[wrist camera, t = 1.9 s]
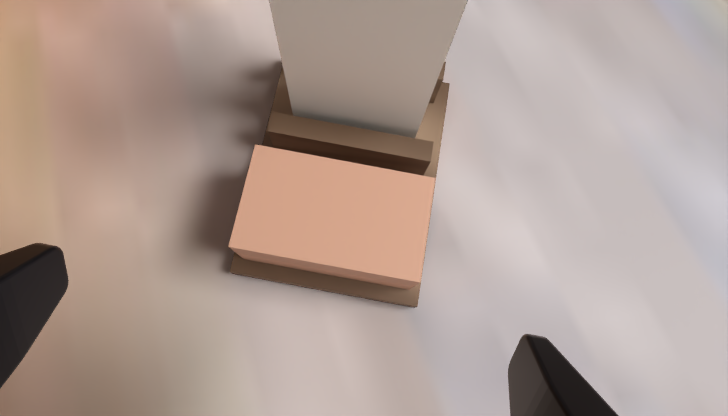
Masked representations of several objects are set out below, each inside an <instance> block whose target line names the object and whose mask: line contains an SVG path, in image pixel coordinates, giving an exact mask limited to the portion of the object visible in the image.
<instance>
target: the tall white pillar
mask: <svg viewBox="0 0 728 416" xmlns="http://www.w3.org/2000/svg"><path fill="white" fill-rule="evenodd" d="M467 1H468V0H269V3H270V7H271V12H272V17H273V22H274V26H275V31H276V36H277V41H278V45H279V50H280V55H281V60H282V65H283V69H284V74H285V79H286V84H287V88H288V93H289V98H290V103H291V107H292V112H293V116H299V117H304V118H309V119H315V120H320V121H325V122H331V123H336V124H342V125H347V126H352V127H358V128H363V129H368V130H374V131H379V132H384V133H390V134H395V135H400V136H406V137H411V138H415V137H416V134H417V132H418V129H419V127H420V124H421V121H422V119H423V116H424V114H425V111H426V108H427V106H428V103H429V101H430V98H431V95H432V93H433V90H434V87H435V85H436V82H437V80H438V77H439V74H440V72H441V69H442V67H443V64H444V61H445V59H446V56H447V53H448V51H449V48H450V46H451V43H452V40H453V38H454V35H455V33H456V30H457V27H458V25H459V22H460V19H461V17H462V14H463V12H464V9H465V6H466V4H467Z"/></svg>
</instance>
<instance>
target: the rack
mask: <svg viewBox="0 0 728 416" xmlns="http://www.w3.org/2000/svg"><path fill="white" fill-rule="evenodd" d="M445 63H446V62H444V64H443V67H442V69H441V72H440V74H439V77H438V80H437V82H436V85H435V87H434V90H433V93H432V95H431V98H430V101H429V103H428V106H427V108H426V111H425V114H424V116H423V119H422V121H421V124H420V127H419V129H418V132H417V134H416V137H415V138H411V137H406V136H400V135H395V134H390V133H384V132H379V131H374V130H368V129H363V128H358V127H352V126H347V125H342V124H336V123H331V122H325V121H320V120H315V119H309V118H304V117H299V116H293V112H292V107H291V103H290V98H289V93H288V88H287V84H286V79H285V74H284V69H283V66H282V70H281V74H280V77H279V81H278V85H277V89H276V93H275V97H274V101H273V105H272V108H271V112H270V116H269V120H268V124H267V128H266V132H265V136H264V140H263V143H262V146H267V147H272V148H277V149H283V150H288V151H293V152H299V153H304V154H310V155H315V156H320V157H326V158H331V159H336V160H342V161H347V162H352V163H358V164H363V165H369V166H374V167H379V168H385V169H390V170H395V171H401V172H406V173H411V174H417V175H422V176H428V177H433V178H436V174H437V167H438V160H439V153H440V146H441V139H442V132H443V126H444V119H445V112H446V105H447V98H448V91H449V83H444V82H442V81H443V77H444V70H445ZM435 181H436V179H435ZM434 188H435V186H434ZM433 194H434V192H433ZM432 201H433V199H432ZM431 208H432V206H431ZM430 215H431V213H430ZM429 222H430V220H429ZM428 229H429V227H428ZM427 236H428V234H427ZM426 243H427V241H426ZM425 250H426V247H425ZM424 257H425V254H424ZM423 263H424V261H423ZM422 270H423V268H422ZM230 272H231V273H233V274H237V275H243V276H248V277H253V278H259V279H264V280H269V281H275V282H280V283H286V284H291V285H296V286H302V287H307V288H312V289H318V290H323V291H329V292H334V293H339V294H345V295H350V296H355V297H361V298H366V299H372V300H377V301H382V302H388V303H393V304H398V305H404V306H409V307H417V305H418V298H419V291H420V284H421V282H420V283H419V284H417V285H416V286H414V287H413V288H411V289H410V290H407V289H402V288H397V287H391V286H386V285H380V284H375V283H370V282H364V281H359V280H354V279H348V278H343V277H337V276H332V275H327V274H321V273H316V272H311V271H305V270H300V269H294V268H289V267H284V266H278V265H273V264H268V263H262V262H257V261H251V260H246V259H243V258H242V257H241V256H239V255H238V254H237V253H236V252H234V256H233V260H232V264H231V268H230ZM421 277H422V275H421Z"/></svg>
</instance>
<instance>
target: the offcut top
mask: <svg viewBox="0 0 728 416" xmlns="http://www.w3.org/2000/svg"><path fill="white" fill-rule="evenodd" d="M435 179H436V178H433V177H428V176H422V175H417V174H411V173H406V172H401V171H395V170H390V169H385V168H379V167H374V166H369V165H363V164H358V163H352V162H347V161H342V160H336V159H331V158H326V157H320V156H315V155H310V154H304V153H299V152H293V151H288V150H283V149H277V148H272V147H267V146H261V145H256V144H255V147H254V151H253V154H252V158H251V162H250V166H249V170H248V173H247V177H246V181H245V185H244V189H243V193H242V196H241V200H240V204H239V208H238V212H237V215H236V219H235V223H234V227H233V231H232V235H231V238H230V242H229V246H228V247H229V248H231V249H232V250H233V251H234V252H236V253H238V254H243V255H248V256H254V257H259V258H264V259H270V260H275V261H280V262H286V263H291V264H297V265H302V266H307V267H313V268H318V269H323V270H329V271H334V272H340V273H345V274H350V275H356V276H361V277H366V278H372V279H377V280H383V281H388V282H393V283H399V284H404V285H409V286H416V285H417V284H419V283H420V282H421V275H422V268H423V261H424V254H425V247H426V241H427V234H428V227H429V220H430V213H431V206H432V199H433V192H434V186H435Z"/></svg>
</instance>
